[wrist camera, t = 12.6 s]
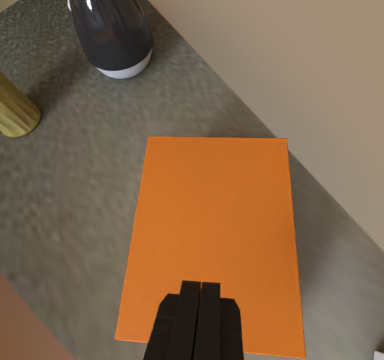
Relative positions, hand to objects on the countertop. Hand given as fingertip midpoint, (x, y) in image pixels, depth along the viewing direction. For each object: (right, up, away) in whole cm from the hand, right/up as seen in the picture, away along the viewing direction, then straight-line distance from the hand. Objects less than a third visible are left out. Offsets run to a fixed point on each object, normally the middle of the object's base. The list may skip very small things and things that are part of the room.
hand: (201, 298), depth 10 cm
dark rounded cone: (-11, +23, +32) cm, 41 cm away
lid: (+1, +1, +11) cm, 11 cm away
